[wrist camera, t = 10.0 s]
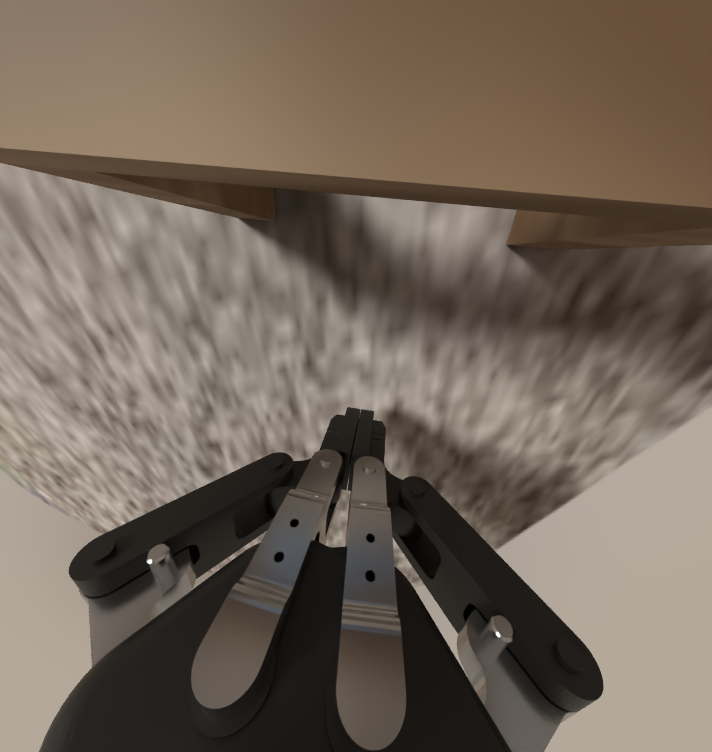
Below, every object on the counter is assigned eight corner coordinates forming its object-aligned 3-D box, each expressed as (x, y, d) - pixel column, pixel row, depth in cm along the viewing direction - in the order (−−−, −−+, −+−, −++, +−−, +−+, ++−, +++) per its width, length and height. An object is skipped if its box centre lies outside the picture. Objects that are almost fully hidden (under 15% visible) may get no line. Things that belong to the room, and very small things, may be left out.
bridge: (552, 249, 12) (1031, 234, 3) (237, 217, 13) (-100, 139, 4) (584, 166, 10) (1662, -334, 2) (229, 139, 11) (-293, -226, 3)
